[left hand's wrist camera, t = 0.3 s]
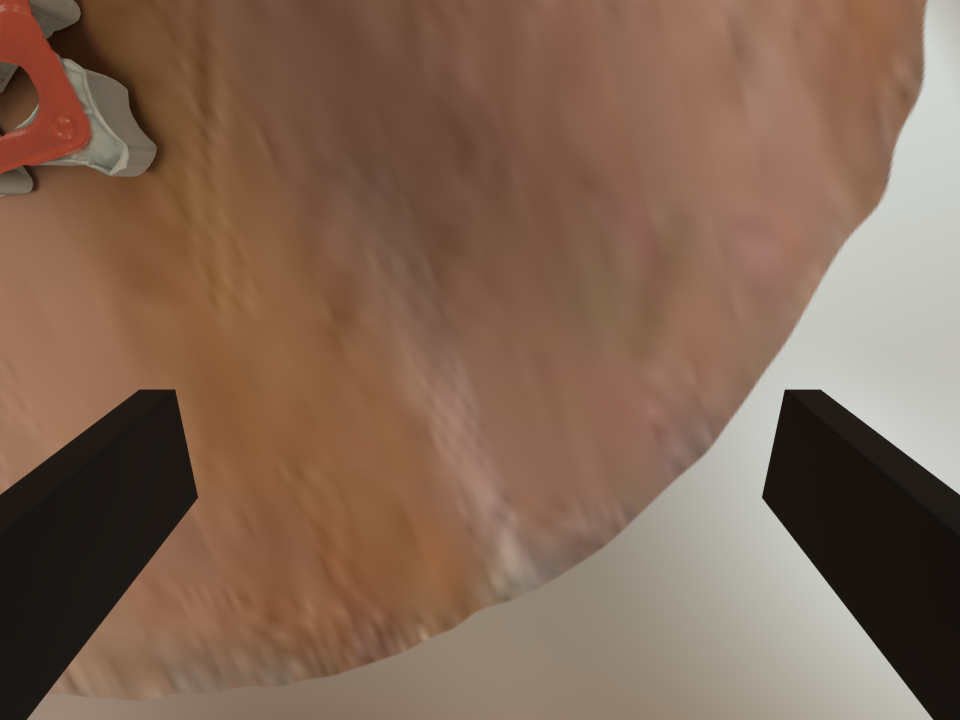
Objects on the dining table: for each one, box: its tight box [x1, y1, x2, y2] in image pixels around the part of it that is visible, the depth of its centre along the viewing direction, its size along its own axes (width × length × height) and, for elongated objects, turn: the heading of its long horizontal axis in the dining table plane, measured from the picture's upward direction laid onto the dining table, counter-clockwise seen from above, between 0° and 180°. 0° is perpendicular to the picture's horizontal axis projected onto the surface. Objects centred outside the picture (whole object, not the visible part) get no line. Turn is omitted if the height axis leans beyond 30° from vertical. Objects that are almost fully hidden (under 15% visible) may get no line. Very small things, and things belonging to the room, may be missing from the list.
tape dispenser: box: [0, 0, 157, 197], centre depth 32 cm, size 18×5×20 cm
